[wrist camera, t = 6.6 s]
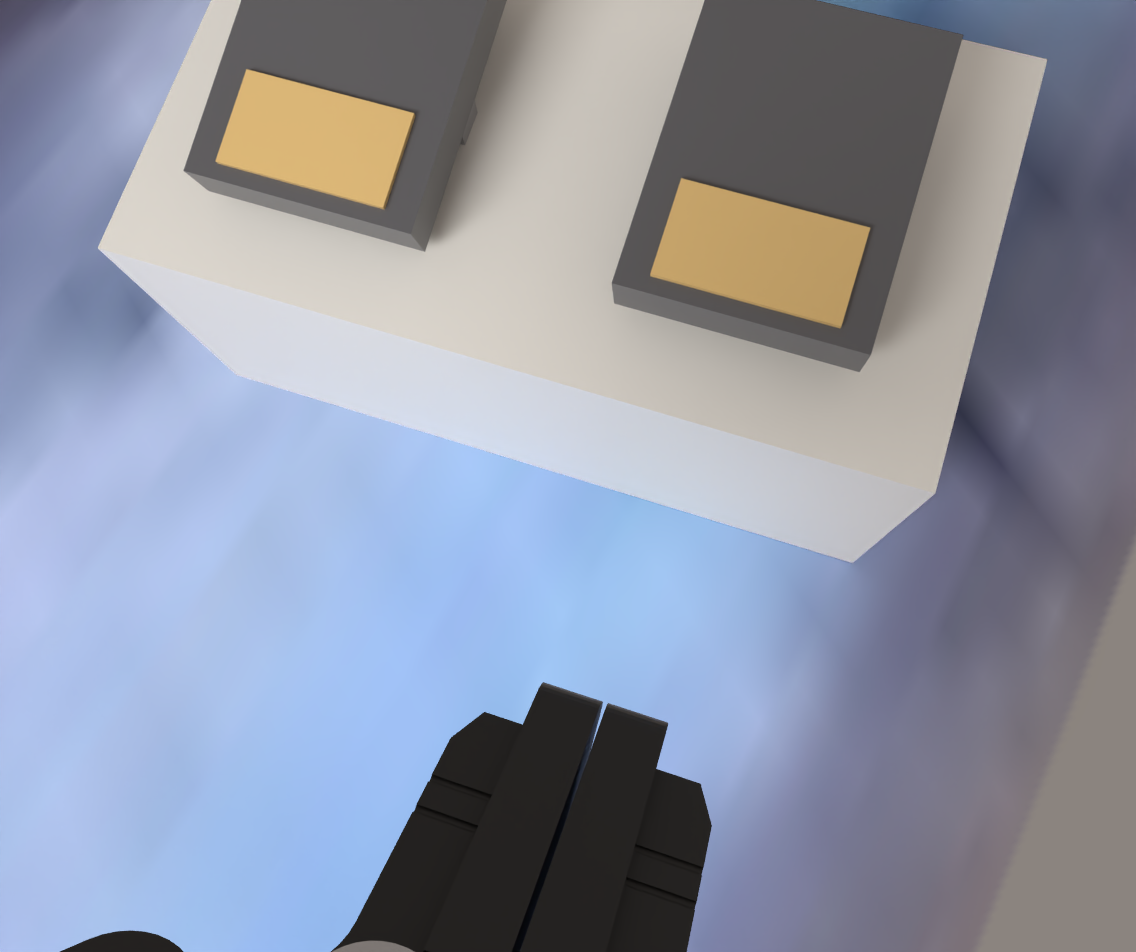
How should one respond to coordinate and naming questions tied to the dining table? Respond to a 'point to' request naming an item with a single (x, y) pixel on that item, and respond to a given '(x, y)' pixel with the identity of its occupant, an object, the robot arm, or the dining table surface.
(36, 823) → the dining table surface
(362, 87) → the block
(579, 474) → the switch box
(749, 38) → the rocker outer
